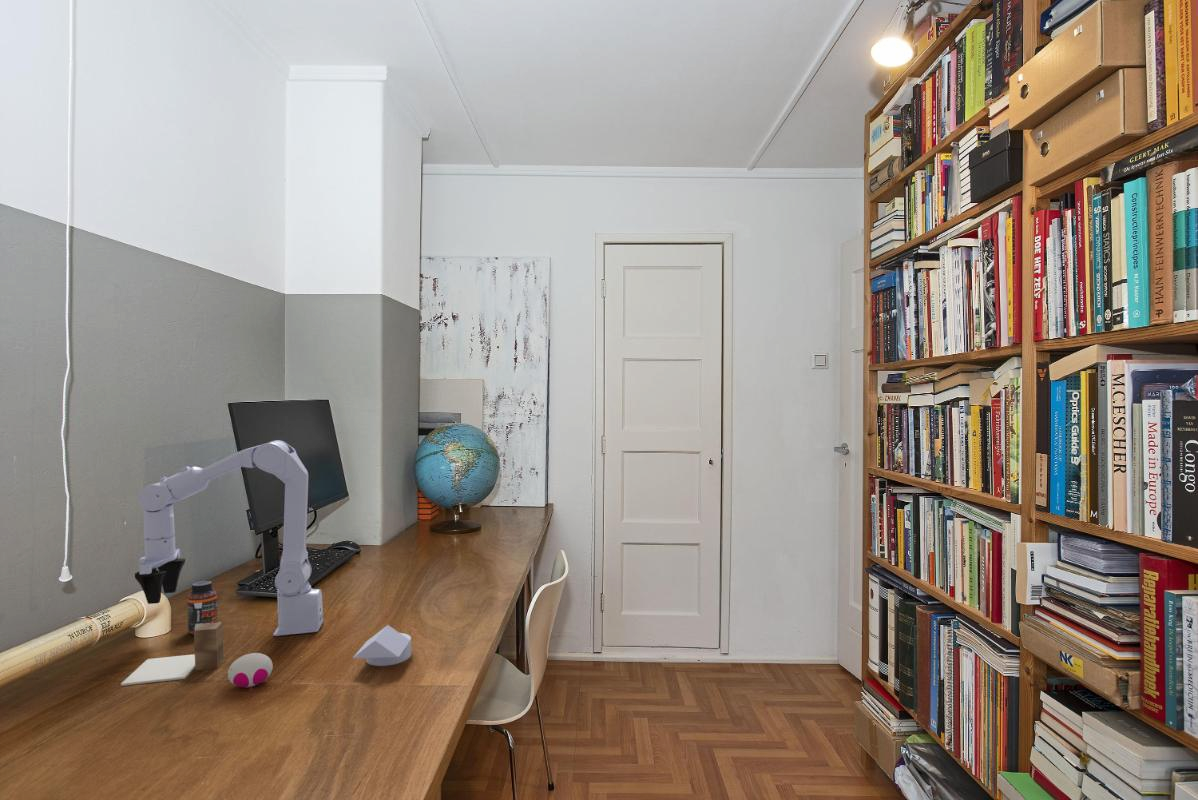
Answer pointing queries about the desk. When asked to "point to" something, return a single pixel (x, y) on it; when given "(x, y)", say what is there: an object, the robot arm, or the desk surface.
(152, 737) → the desk surface
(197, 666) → the walnut block
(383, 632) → the wedge on round base
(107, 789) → the desk surface
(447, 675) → the desk surface
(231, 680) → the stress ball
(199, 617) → the supplement bottle
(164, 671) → the felt mat
